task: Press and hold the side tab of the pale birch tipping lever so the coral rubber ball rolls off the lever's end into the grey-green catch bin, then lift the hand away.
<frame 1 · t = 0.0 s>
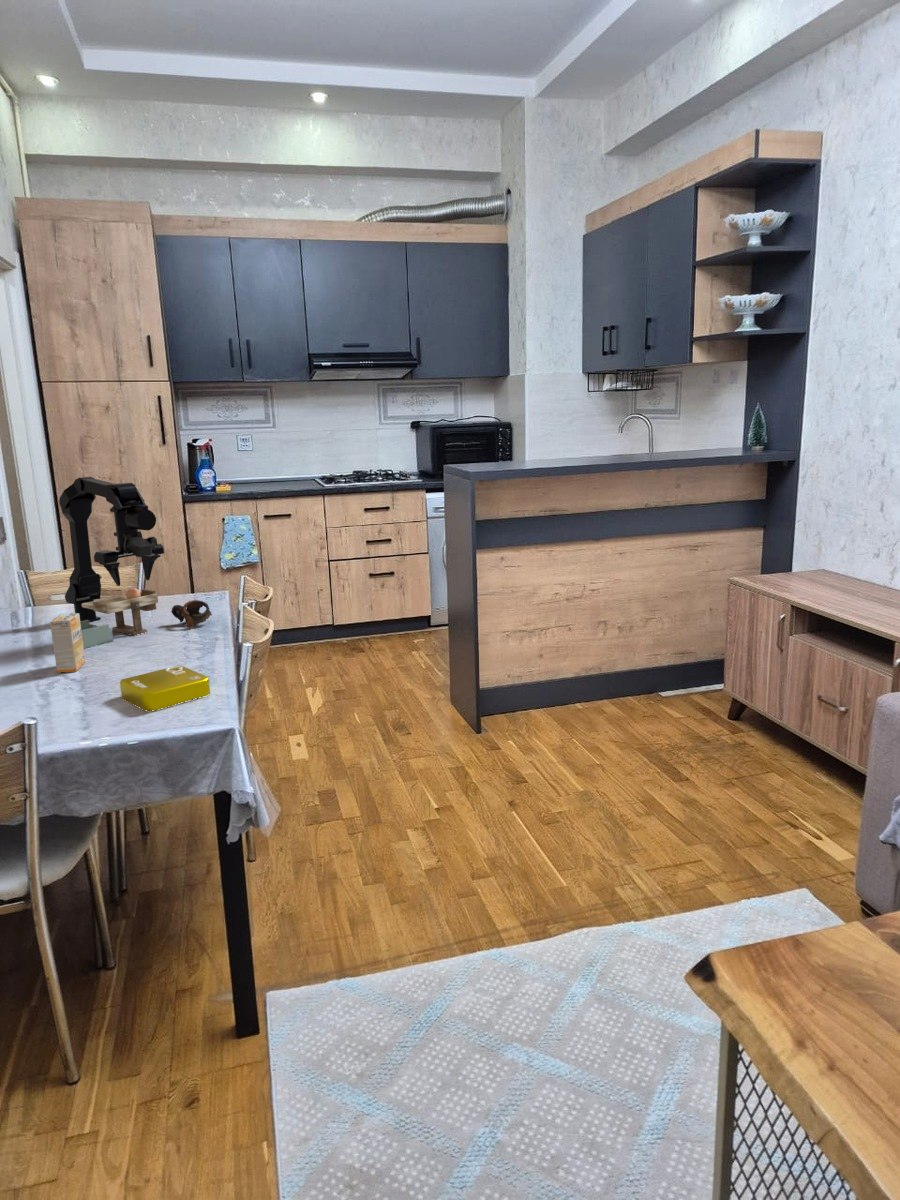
hand: (133, 582, 227), 15 cm above the table, tool pointing down, fingers open, 9 cm apart
supplement box: (72, 668, 198), on the table
element tile: (166, 698, 176), on the table
ball: (133, 594, 231), point 10 cm above the table, touching tipping lever
tipping lever: (118, 602, 232), point 8 cm above the table, hinge at 0.0°, touching ball
lever stand: (129, 631, 231), on the table
catch bin: (85, 643, 220), on the table
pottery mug: (192, 625, 238), on the table
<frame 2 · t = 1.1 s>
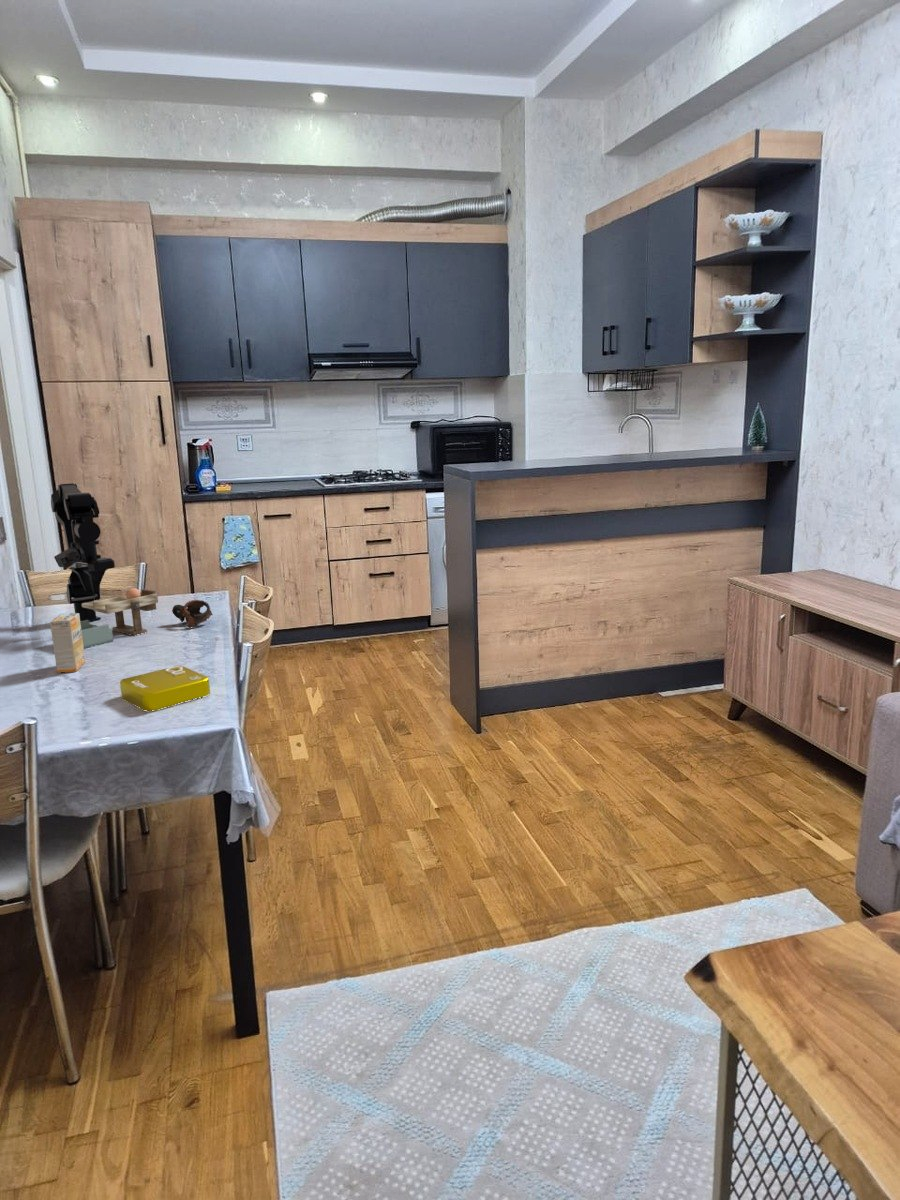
hand: (91, 591, 230), 12 cm above the table, tool pointing down, fingers open, 4 cm apart
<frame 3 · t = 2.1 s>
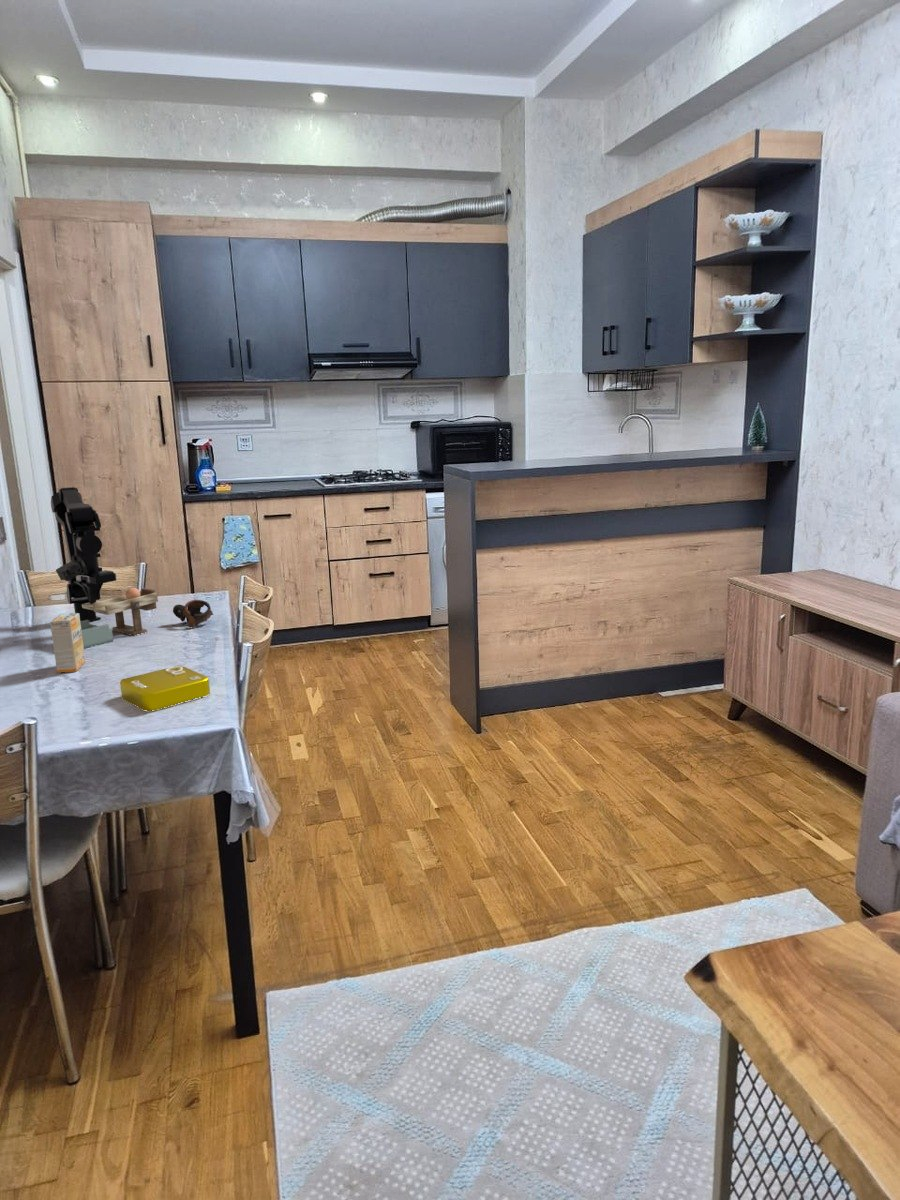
hand: (92, 604, 231), 8 cm above the table, tool pointing down, fingers closed, pressing on tipping lever
tipping lever: (118, 602, 232), point 8 cm above the table, hinge at 2.2°, touching ball, gripper
everything else where it was.
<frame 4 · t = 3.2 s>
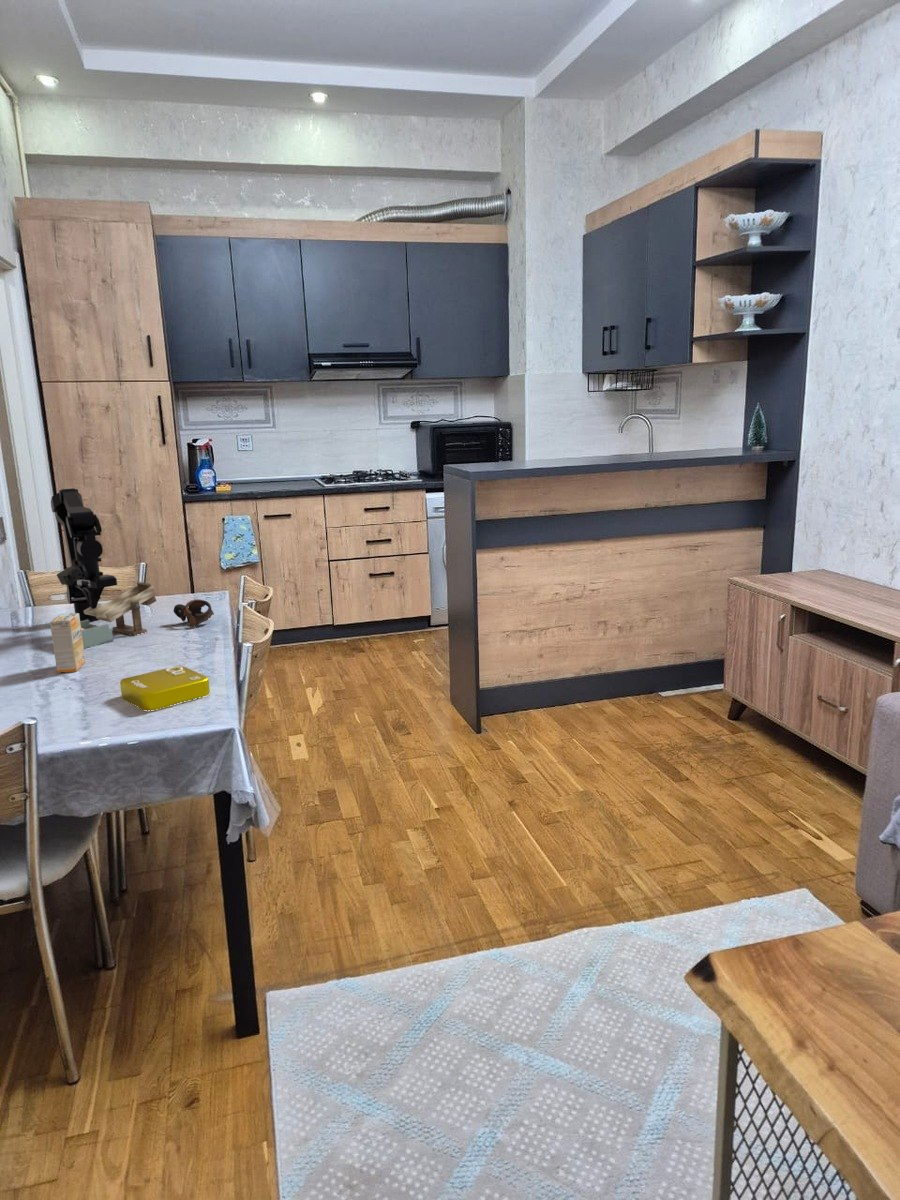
hand: (93, 608, 231), 7 cm above the table, tool pointing down, fingers closed, pressing on tipping lever
ball: (79, 635, 219), point 3 cm above the table, tilted 152°, touching catch bin
tipping lever: (118, 602, 232), point 8 cm above the table, hinge at 18.3°, touching gripper
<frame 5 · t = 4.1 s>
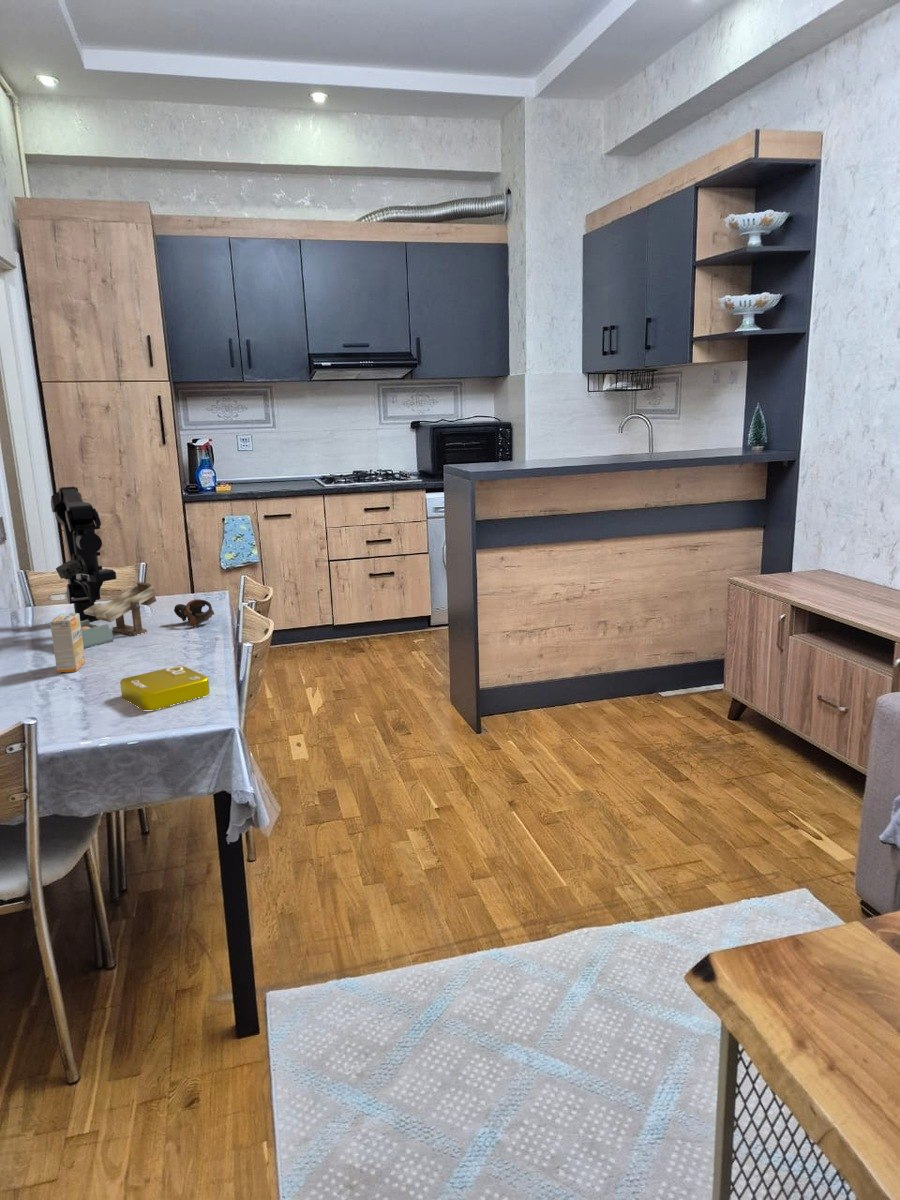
hand: (92, 602, 230), 9 cm above the table, tool pointing down, fingers closed
ball: (85, 633, 220), point 3 cm above the table, tilted 161°, touching catch bin
tipping lever: (118, 602, 232), point 8 cm above the table, hinge at 18.4°
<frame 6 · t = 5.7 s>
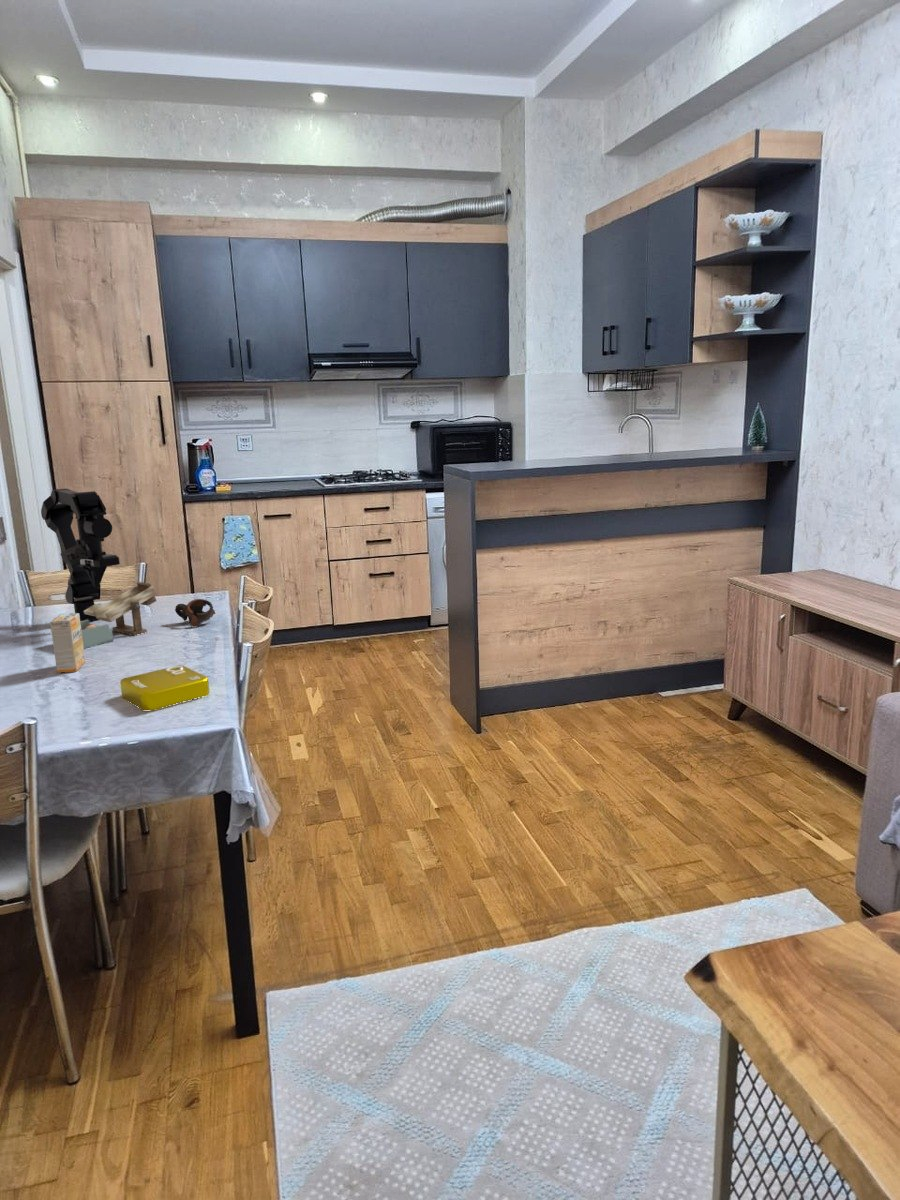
hand: (96, 587, 235), 12 cm above the table, tool pointing down, fingers closed
ball: (92, 632, 222), point 3 cm above the table, tilted 105°, touching catch bin
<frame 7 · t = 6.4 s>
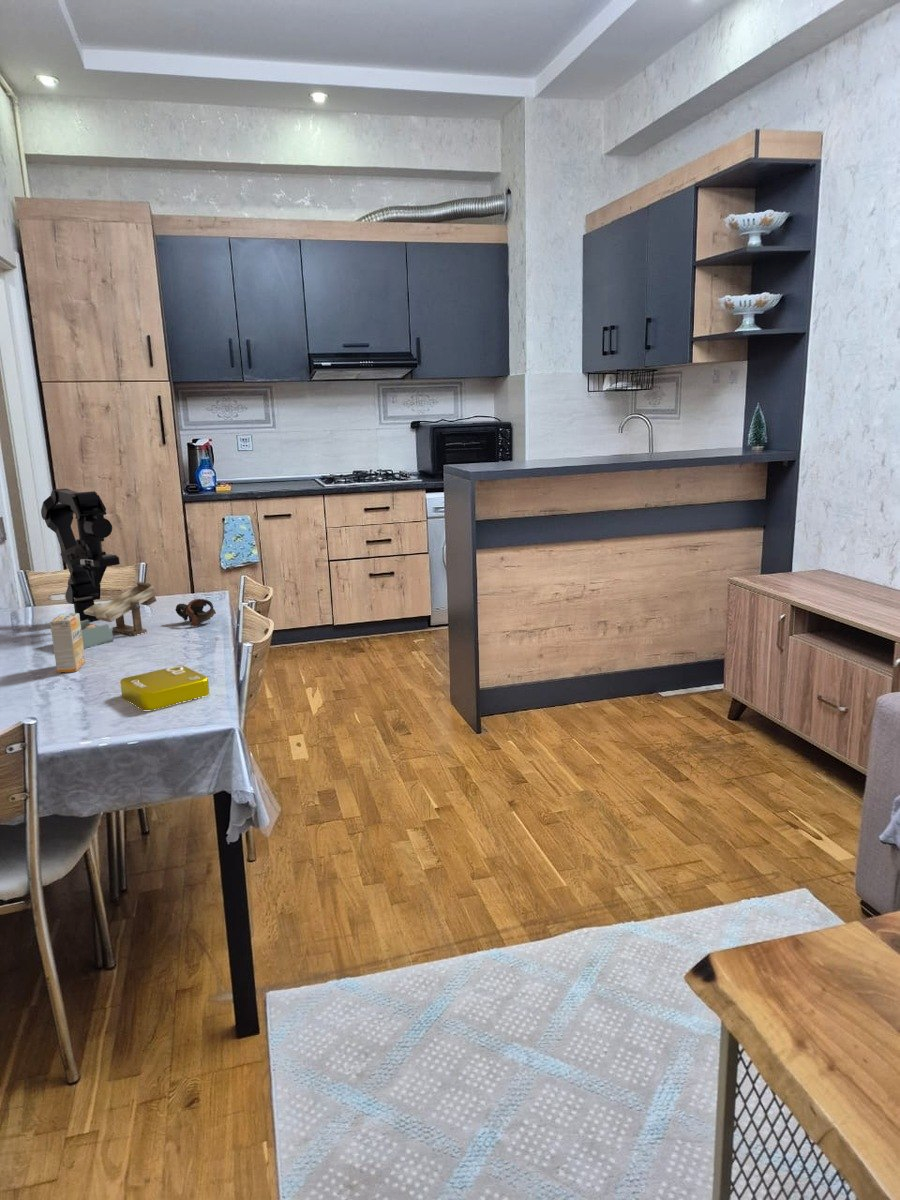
hand: (96, 587, 235), 12 cm above the table, tool pointing down, fingers closed
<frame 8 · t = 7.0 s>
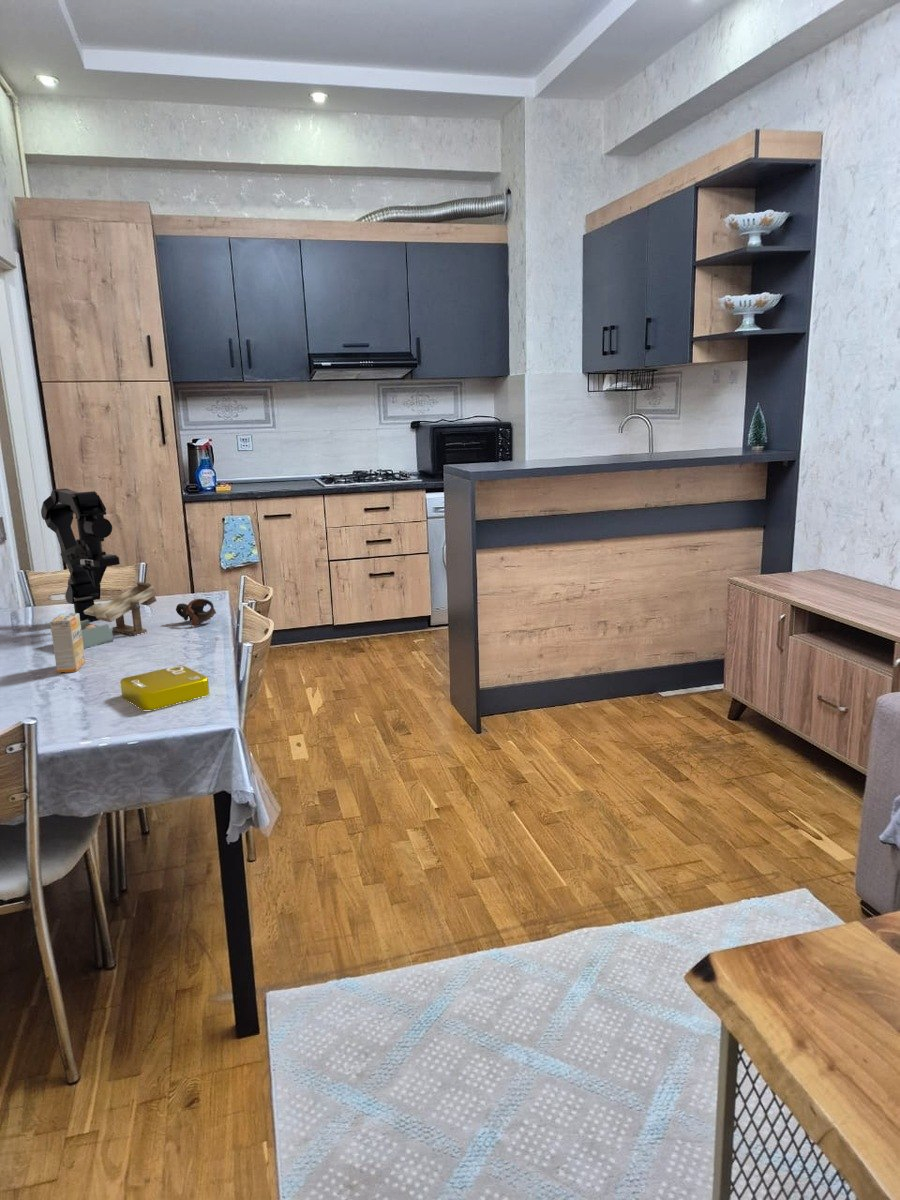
hand: (96, 587, 235), 12 cm above the table, tool pointing down, fingers closed
at the end: ball inside the target area on the catch bin (2.2 cm from its centre), point 2.6 cm above the catch bin's base; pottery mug moved 2.3 cm from its start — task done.
